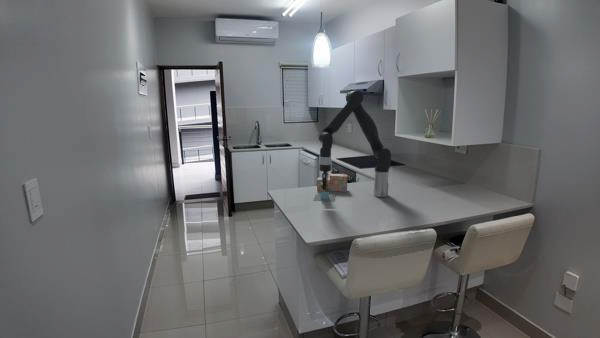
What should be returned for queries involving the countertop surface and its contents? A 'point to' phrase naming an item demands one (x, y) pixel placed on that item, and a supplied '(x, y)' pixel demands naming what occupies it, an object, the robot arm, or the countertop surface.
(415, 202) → the countertop surface
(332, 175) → the stack of blocks
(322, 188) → the walnut cube
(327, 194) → the teal cube
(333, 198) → the build mat
